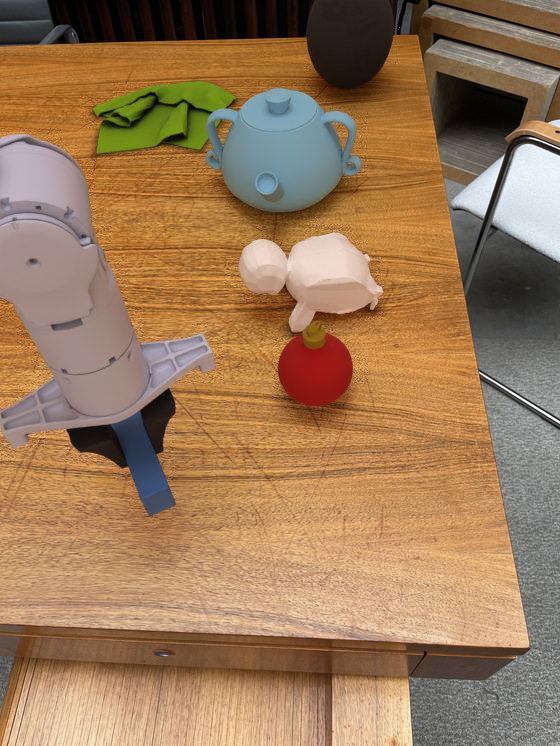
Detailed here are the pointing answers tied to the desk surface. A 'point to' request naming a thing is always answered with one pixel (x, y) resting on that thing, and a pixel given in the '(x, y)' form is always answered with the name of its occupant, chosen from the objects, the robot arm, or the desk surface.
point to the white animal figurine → (311, 275)
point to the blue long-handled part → (144, 465)
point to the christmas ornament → (315, 367)
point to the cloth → (160, 116)
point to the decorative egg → (349, 40)
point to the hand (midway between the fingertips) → (139, 450)
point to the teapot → (282, 150)
